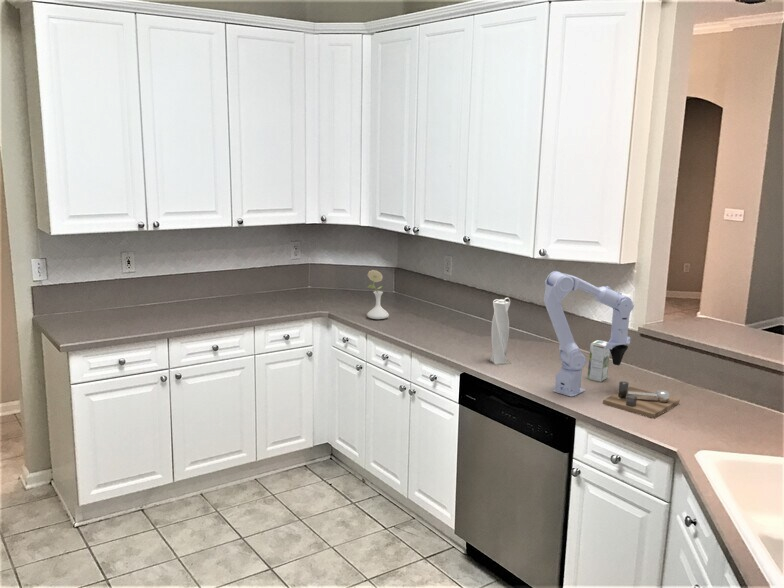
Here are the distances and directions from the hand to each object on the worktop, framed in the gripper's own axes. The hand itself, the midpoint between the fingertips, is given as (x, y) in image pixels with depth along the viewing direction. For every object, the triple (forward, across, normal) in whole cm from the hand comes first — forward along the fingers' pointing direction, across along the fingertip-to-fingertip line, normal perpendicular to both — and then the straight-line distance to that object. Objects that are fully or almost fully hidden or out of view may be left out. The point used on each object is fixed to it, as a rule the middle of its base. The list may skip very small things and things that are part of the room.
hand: (616, 364), depth 244 cm
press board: (+9, -7, -14) cm, 18 cm away
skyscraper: (+10, -5, +48) cm, 49 cm away
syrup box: (+10, +6, +10) cm, 15 cm away
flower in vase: (+10, +9, +136) cm, 137 cm away
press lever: (+8, -7, -14) cm, 17 cm away
